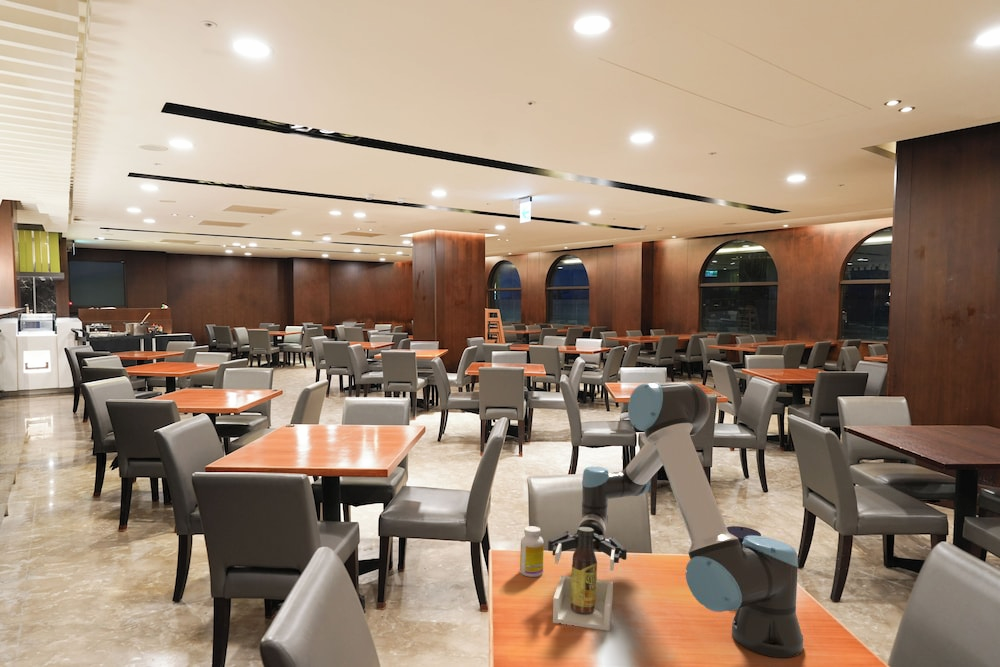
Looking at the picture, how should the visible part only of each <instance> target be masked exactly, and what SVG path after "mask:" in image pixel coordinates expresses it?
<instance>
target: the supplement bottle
mask: <svg viewBox="0 0 1000 667" xmlns="http://www.w3.org/2000/svg"><path fill="white" fill-rule="evenodd" d="M523 531H524V532H523V533H524V535H523V536H522V537H521V538H520V558H519V559H520V562H519V563H520V564H519V569H520V570H519V571H520V574H521V575H522V576H525V577H527V578H529V577H530V578H536V577H540V576H542V575H543V573H544V543H545V542H544V539H543V537H542V536H541V533H542V532H541V528H540V527H539V526H535V525H534V526H532V525H530V526H529V525H528V526H526V527H524V530H523Z"/></svg>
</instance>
